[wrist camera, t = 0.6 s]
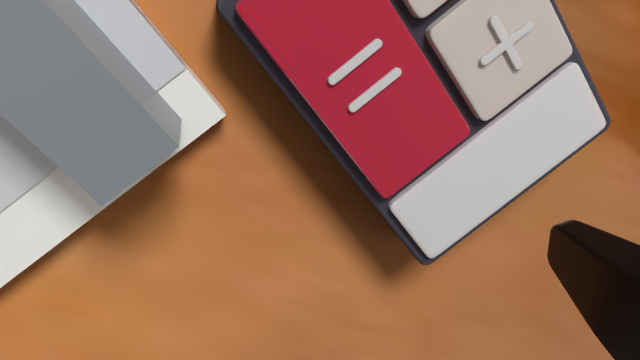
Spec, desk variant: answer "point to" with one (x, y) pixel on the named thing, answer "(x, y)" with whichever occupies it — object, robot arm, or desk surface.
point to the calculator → (430, 100)
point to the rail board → (84, 116)
